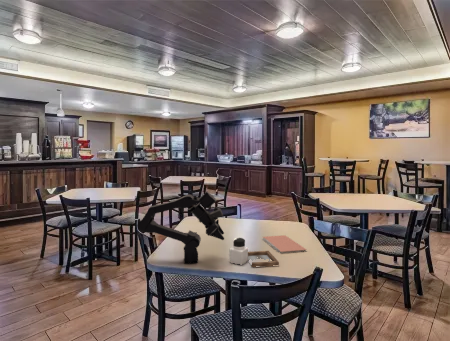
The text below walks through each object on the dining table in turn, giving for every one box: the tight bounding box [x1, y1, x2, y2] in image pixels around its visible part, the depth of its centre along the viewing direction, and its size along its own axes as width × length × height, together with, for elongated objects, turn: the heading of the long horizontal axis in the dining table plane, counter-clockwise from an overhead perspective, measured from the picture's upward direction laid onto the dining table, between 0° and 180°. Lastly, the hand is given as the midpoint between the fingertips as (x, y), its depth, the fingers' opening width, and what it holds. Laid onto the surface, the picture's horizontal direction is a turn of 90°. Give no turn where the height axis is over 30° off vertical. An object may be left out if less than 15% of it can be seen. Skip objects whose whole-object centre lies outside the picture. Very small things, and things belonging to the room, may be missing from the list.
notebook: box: [261, 234, 307, 254], centre depth 176 cm, size 27×17×2 cm, turn 14°
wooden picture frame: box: [247, 250, 280, 268], centre depth 151 cm, size 14×16×2 cm
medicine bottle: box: [228, 237, 249, 266], centre depth 148 cm, size 7×7×12 cm
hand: (223, 236), depth 147 cm, fingers open, 9 cm apart
